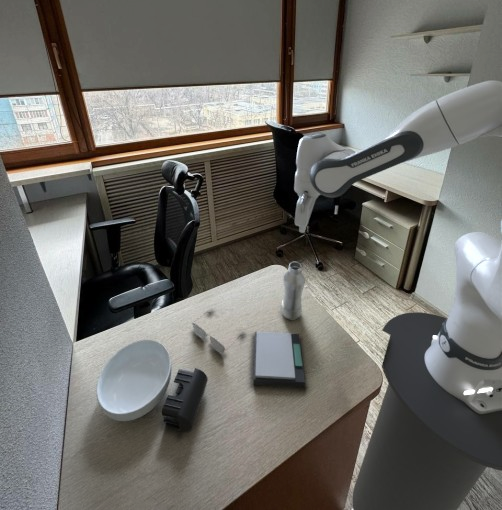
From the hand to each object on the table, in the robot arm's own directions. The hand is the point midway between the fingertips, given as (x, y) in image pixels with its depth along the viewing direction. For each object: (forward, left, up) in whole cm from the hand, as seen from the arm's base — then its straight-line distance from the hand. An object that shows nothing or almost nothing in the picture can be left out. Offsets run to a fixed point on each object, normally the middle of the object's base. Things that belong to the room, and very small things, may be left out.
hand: (305, 223), depth 88 cm
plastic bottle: (+4, +12, -27) cm, 30 cm away
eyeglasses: (+27, +20, -27) cm, 43 cm away
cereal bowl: (+44, +36, -27) cm, 63 cm away
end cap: (+31, +39, -27) cm, 57 cm away
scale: (+9, +27, -27) cm, 39 cm away
